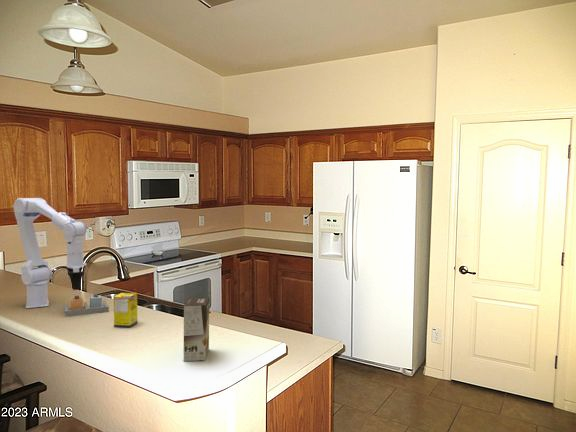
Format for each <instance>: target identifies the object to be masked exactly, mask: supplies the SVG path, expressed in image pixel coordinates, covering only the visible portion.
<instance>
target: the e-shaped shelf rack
mask: <svg viewBox="0 0 576 432" xmlns="http://www.w3.org/2000/svg"><path fill="white" fill-rule="evenodd" d="M68 306H69V305H68V303H64V317H73V316H74V317H75V316H80V315H81V316H82V315H90V314H99V313H107V312H109V309H110V308H109V305H108V303H107V301H106V300H105V299H102V307H94V308H90V307H89V305H88V302H87V301H83V309H76V310H71V309H68V308H69V307H68Z"/></svg>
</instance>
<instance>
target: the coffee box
mask: <svg viewBox="0 0 576 432" xmlns="http://www.w3.org/2000/svg"><path fill="white" fill-rule="evenodd" d="M209 349H210V297H207V296H206V297H203V296H202V297H199V296H198V297H188V299H187V300H186V301H185V303H184V304H183V362H195V361H196V362H198V361H199V360H204V361H206V359H207V355H208V353H209V351H210V350H209ZM197 360H198V361H197ZM199 362H200V361H199Z"/></svg>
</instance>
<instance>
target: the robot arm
mask: <svg viewBox="0 0 576 432" xmlns="http://www.w3.org/2000/svg"><path fill="white" fill-rule="evenodd" d="M12 207H13V213H14V217H15V220H16V223H17V227H18V231H19V236H20V241H21V244H22V245H21V246H22V249H23V252H24V257H25V263H24V264H23V265H22V266H21V267H20V270H21V277H20V278H21V281H22V283H23V284H24V285H25V286H26V303H25V309H33V308H40V307H41V308H42V307H49V303H50V301H49V299H48V283H49V282H50V280H51V279H52V277H53V272H52V271H53V270H52V269H51V267H50V266H49V262H48V261H46V260H45V259H43V258H42V254H41V251H40V247H39V243H38V238H37V234H36V230H35V226H34V221H35V220H36V219H38V217H40V216H41V215H43V216H45V217H47V219H48V218H49V219H50V220H51V223H52V224H53V226H55V227H56V228H58V229H59V230H61V231H62V234H63V236H64V237H65V238H64V240H65V242H66V265H65V266H66V270H67V275H68V277H69V279H70V283H71V288H72V290H73V291H77V290H80V287H81V281H82V278H83V276H84V274H85V271H82V270H83V269H84V268H83V267H85V266H88V264H87V263H86V262H84V236H85V235H86V234H87V226H86V224H85V223H84V222H83V221H76V220H75V218H72V217H71V216H69V215H68V213H66V212H61V211H60V212H57V210H55V209H54V208H53V207H52V206H50V205H49V204H48V203H47V200H45V199H43V198H42V197H18V198H16V199H15V201H14V203H13V205H12Z"/></svg>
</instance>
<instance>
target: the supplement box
mask: <svg viewBox="0 0 576 432" xmlns="http://www.w3.org/2000/svg"><path fill="white" fill-rule="evenodd" d="M137 323H138V293H137V292H120V293H118V294H116V295H114V296H113V327H114V328H128V329H129V328H131V327H133V326H135V325H136V324H137Z"/></svg>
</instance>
